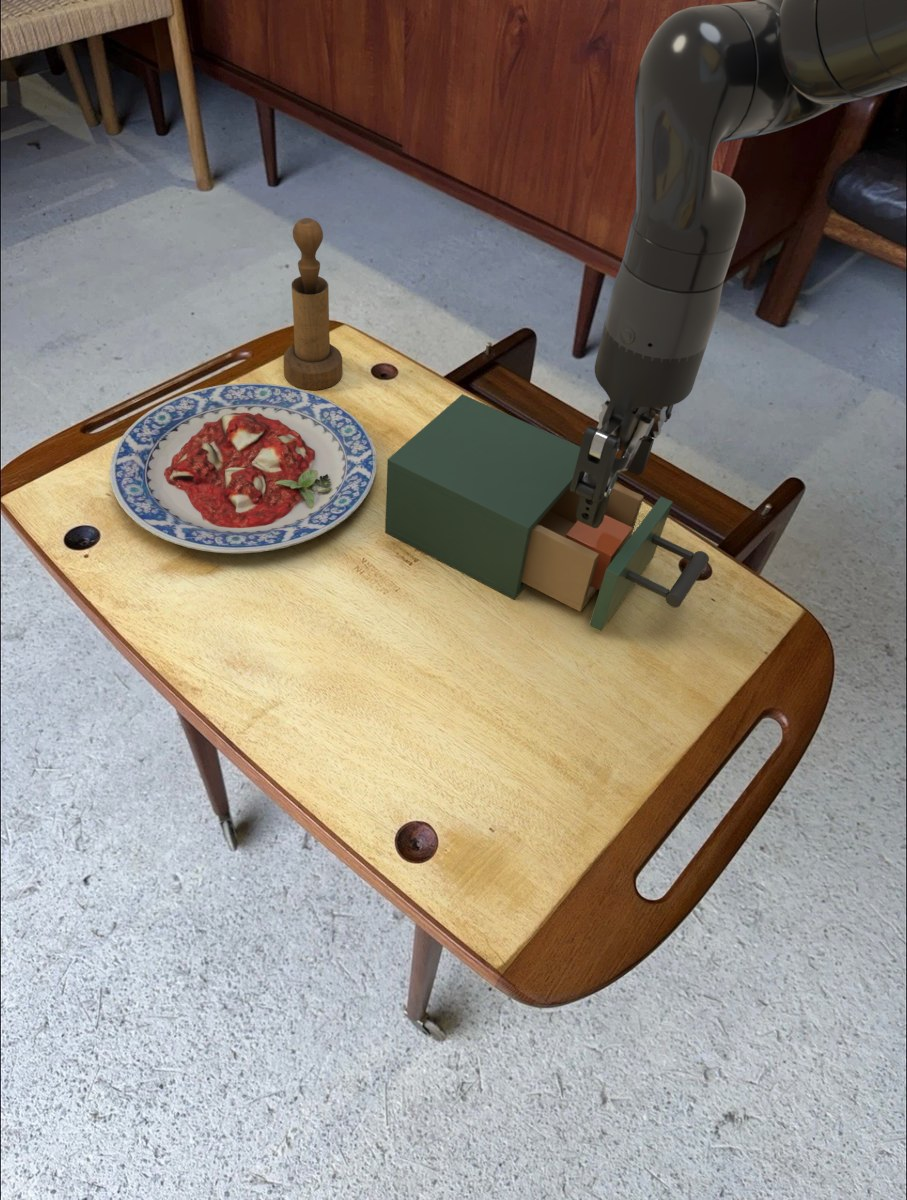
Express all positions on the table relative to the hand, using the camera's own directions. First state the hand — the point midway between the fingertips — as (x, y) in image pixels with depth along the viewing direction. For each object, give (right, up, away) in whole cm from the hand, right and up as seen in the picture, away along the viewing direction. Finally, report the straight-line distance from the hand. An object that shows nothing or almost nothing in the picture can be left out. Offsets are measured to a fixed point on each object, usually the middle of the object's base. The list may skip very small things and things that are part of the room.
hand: (610, 494), depth 77 cm
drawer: (-1, -6, +7) cm, 10 cm away
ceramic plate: (-34, +3, +14) cm, 37 cm away
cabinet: (-11, -2, +12) cm, 16 cm away
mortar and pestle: (-30, +17, +27) cm, 43 cm away
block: (-1, -6, +6) cm, 9 cm away
